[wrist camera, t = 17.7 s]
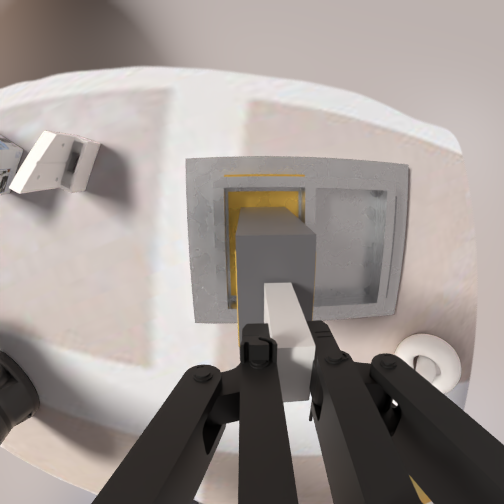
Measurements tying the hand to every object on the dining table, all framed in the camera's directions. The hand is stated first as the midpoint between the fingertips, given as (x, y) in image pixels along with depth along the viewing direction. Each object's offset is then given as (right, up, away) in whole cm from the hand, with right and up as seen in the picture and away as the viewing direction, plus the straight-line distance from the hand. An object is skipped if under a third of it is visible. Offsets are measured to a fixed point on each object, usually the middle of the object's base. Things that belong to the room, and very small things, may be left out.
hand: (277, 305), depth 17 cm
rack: (+4, +4, +15) cm, 16 cm away
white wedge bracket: (-21, +13, +13) cm, 28 cm away
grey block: (0, +4, +14) cm, 14 cm away
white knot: (+20, -13, +20) cm, 31 cm away
